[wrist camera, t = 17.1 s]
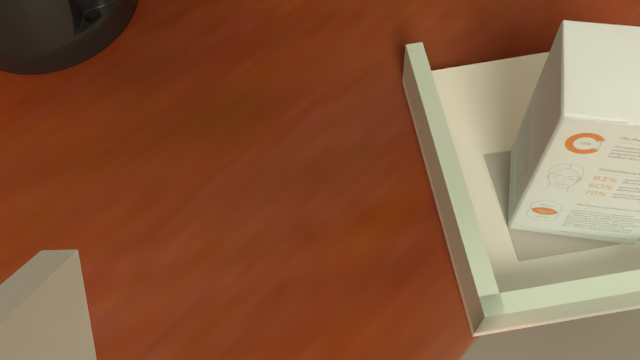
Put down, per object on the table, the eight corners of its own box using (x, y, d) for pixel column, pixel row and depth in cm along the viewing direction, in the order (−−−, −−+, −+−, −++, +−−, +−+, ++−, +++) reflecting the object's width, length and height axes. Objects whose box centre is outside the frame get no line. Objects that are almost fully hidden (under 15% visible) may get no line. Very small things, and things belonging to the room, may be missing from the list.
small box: (629, 162, 42) (730, 30, 30) (634, 247, 39) (749, 137, 27) (507, 147, 43) (561, 15, 31) (504, 229, 40) (561, 117, 28)
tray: (402, 81, 47) (405, 44, 43) (628, 45, 48) (651, 5, 44) (472, 336, 38) (484, 317, 34) (755, 288, 38) (798, 263, 34)
